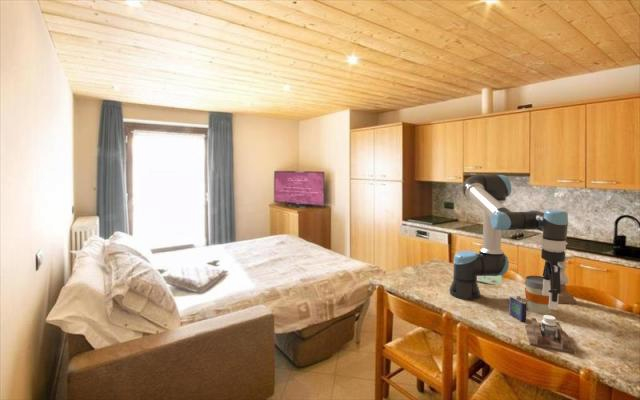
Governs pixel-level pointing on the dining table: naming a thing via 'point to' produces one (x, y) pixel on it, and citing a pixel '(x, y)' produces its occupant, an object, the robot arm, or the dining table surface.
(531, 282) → the reusable coffee cup
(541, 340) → the clip stand
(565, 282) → the candle holder
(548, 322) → the pill bottle
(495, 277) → the green board with pegs
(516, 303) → the dark blue upright block
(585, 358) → the dining table surface
